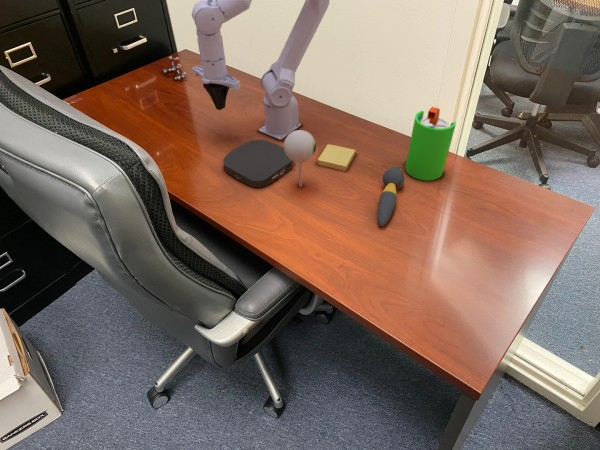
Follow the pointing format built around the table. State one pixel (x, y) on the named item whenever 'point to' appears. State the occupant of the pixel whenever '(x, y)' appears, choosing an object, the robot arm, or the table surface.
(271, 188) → the table surface
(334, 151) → the sticky note pad
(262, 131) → the robot arm
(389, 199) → the grey microphone
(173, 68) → the molecule model
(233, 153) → the media streaming box
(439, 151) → the green upright cylinder
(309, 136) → the lollipop
